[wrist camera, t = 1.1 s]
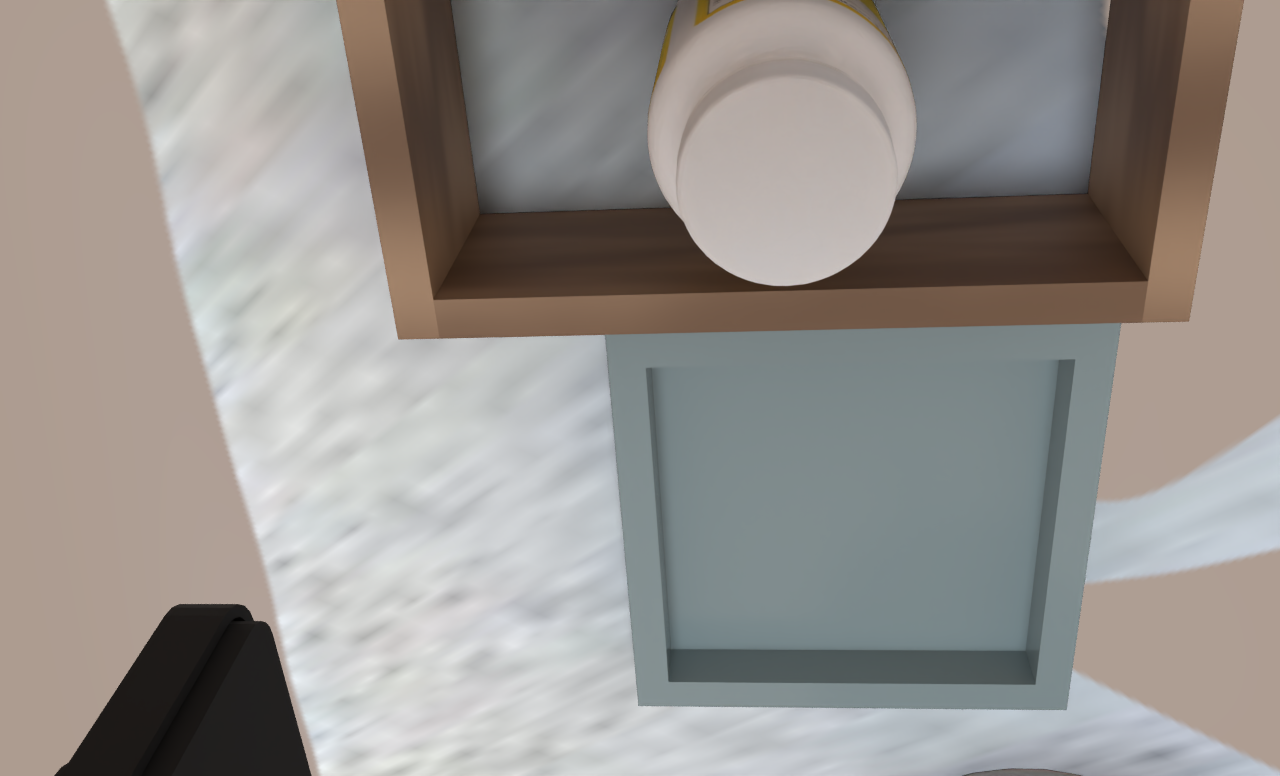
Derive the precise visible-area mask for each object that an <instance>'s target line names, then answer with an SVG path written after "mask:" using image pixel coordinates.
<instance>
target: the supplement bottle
mask: <svg viewBox="0 0 1280 776" xmlns="http://www.w3.org/2000/svg"><path fill="white" fill-rule="evenodd" d="M916 134H917V118H916V107H915V102H914V96H913V92H912V88H911V84H910V81H909V78H908V75H907V73H906V70H905V67H904V65H903V63H902V61H901V59H900V57H899V55H898V53H897V50H896V48H895V46H894V44H893V42H892V40H891V38H890V36H889V34H888V31H887V29H886V27H885V25H884V23H883V21H882V19H881V17H880V14H879V12H878V10H877V9H876V7H875V5H874V3H873V1H872V0H679V1H678V3H677V5H676V7H675V9H674V11H673V13H672V15H671V17H670V20H669V23H668V26H667V30H666V34H665V37H664V41H663V45H662V51H661V56H660V60H659V65H658V69H657V74H656V78H655V83H654V87H653V92H652V96H651V101H650V106H649V112H648V131H647V138H648V149H649V155H650V161H651V165H652V168H653V172H654V175H655V178H656V180H657V183H658V185H659V187H660V189H661V191H662V193H663V195H664V197H665V198H666V200H667V201H668V203H669V204H670V206H671V207H672V209H673V210H674V211H675V213H676V214H677V215H678V216H679V217H680V218H681V219H682V220H683V222H684V224H685V226H686V228H687V230H688V232H689V234H690V236H691V237H692V239H693V240H694V242H695V243H696V244H697V246H698V247H699V248H700V249H701V250H702V251H703V252H704V254H705V255H706V256H707V257H708V258H710V259H711V260H712V261H713V262H714V263H715V264H717V265H719V266H720V267H722V268H723V269H725V270H726V271H728V272H729V273H731V274H733V275H735V276H737V277H740V278H743V279H745V280H748V281H751V282H755V283H760V284H765V285H771V286H792V285H801V284H808V283H811V282H815V281H818V280H822V279H824V278H827V277H829V276H832V275H834V274H836V273H838V272H839V271H841V270H843V269H844V268H846V267H848V266H849V265H851V264H852V263H853V262H855V261H856V260H857V259H859V258H860V257H861V256H862V255H863V254H864V253H865V252H866V251H867V250H868V249H869V248H870V247H871V246H872V245H873V243H874V242H875V241H876V240H877V238H878V237H879V235H880V234H881V232H882V231H883V229H884V228H885V226H886V224H887V222H888V219H889V217H890V215H891V212H892V209H893V206H894V202H895V198H896V195H897V194H898V192H899V191H900V189H901V187H902V185H903V183H904V181H905V179H906V176H907V173H908V171H909V168H910V165H911V162H912V158H913V154H914V149H915V143H916Z"/></svg>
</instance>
